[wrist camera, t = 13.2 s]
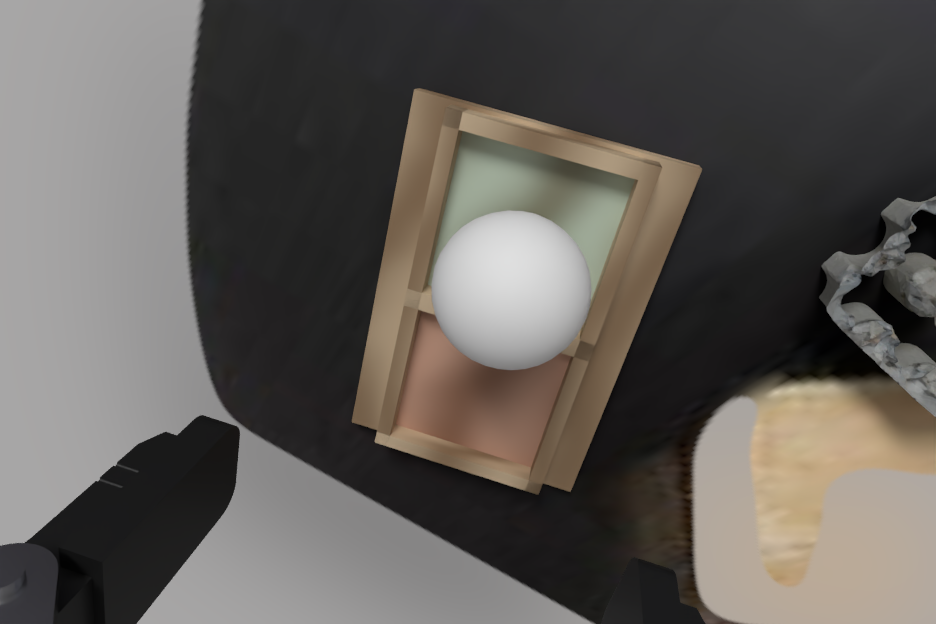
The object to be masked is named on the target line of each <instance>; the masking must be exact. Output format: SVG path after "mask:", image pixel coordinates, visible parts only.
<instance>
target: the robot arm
mask: <svg viewBox="0 0 936 624" xmlns="http://www.w3.org/2000/svg"><path fill="white" fill-rule="evenodd" d="M239 438H240V431H239V428H238V427H237V426H234V425H231V424H228V423H225V422H222V421H219V420H216V419H212V418H210V417H206V416H203V415H202V416H199V417H197V418H196V419H194V420H193V421H192V422H191V423H190V424H189V425H188V426H187V427H186V428H185V429H184V430H182V431H181V433H179V434H178V435H174V434H170V433H167V432H164V433H162V434H160V435H157V436H155V437H153V438H151V439H148V440H146V441H144V442H142V443H139V444H138V445H137V446H135V447H134V448H133V449H132V450H131V451H130V452H129V453H127V454H126V455H125V456H124V457H123V458H122V459H121V460H119V461H118V462H117V465H116V466H113V467H111V468H110V469H109V470H108V471H107V472H106V473H105V474H103V475H102V476H101V477H100V480H99V481H98V482H97V481H95V483H93V484H92V485H91V486H90V487H89V488H88V489H86V490H85V491H84V492H83V493H82V494H81V495H80V496H78V497H77V498H76V499H75V500H74V501H73V502H72V503H70V504H69V505H68V506H67V507H66V508H65V509H64V510H62V511H61V512H60V513H59V514H58V515H57V516H56V517H54V518H53V519H52V520H51V521H50V522H49V523H48V524H46V525H45V526H44V527H43V528H42V529H41V530H40V531H38V532H37V533H36V534H35V535H34V536H33V537H32V538H30V539H29V540H28V541H27V542H25V543H15V544H7V545H2V546H0V624H137V622H138V621H139V620H140V618H141V617H142V616H143V614H144V613H145V612H146V611H147V610H148V608H149V607H150V606H151V605H152V603H153V602H154V601H155V599H156V598H157V597H158V596H159V595H160V593H161V592H162V591H163V589H164V588H165V587H166V586H167V584H168V583H169V582H170V581H171V579H172V578H173V577H174V576H175V574H176V573H177V572H178V570H179V569H180V568H181V567H182V565H183V564H184V563H185V562H186V560H187V559H188V558H189V557H190V555H191V554H192V553H193V551H194V550H195V549H196V548H197V546H198V545H199V544H200V543H201V541H202V540H203V539H204V538H205V536H206V535H207V534H208V532H209V531H210V530H211V529H212V528H213V526H214V525H215V524H216V522H217V521H218V520H219V519H220V517H221V516H222V515H223V513H224V512H225V510H226V508H227V507H228V505H229V503H230V500H231V498H232V496H233V493H234V489H235V484H236V474H237V462H238V449H239ZM601 624H705V622H704V621H703V619H702V617H701V615H700V613H699V612H698V610H697V608H694V607H691V606H688V605H685V604H682V603H680V599H679V592H678V585H677V578H676V574H675V572H674V571H673V570H672V569H669V568H666V567H663V566H660V565H657V564H653V563H650V562H647V561H644V560H641V559H638V558H635V557H634V558H632V559H631V560H630V562H629V564H628V565H627V567H626V569H625V571H624V573H623V576H622V578H621V580H620V582H619V584H618V586H617V588H616V590H615V592H614V594H613V596H612V598H611V600H610V602H609V604H608V606H607V608H606V610H605V613H604V616H603V619H602V623H601Z"/></svg>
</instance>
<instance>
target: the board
mask: <svg viewBox="0 0 936 624" xmlns="http://www.w3.org/2000/svg"><path fill="white" fill-rule="evenodd" d="M701 171H702V169H701V167H700V166H699V165H695V164H692V163H688V162H685V161H681V160H677V159H674V158H670V157H667V156H663V155H659V154H656V153H652V152H648V151H645V150H641V149H638V148H634V147H630V146H627V145H623V144H620V143H616V142H612V141H609V140H605V139H602V138H598V137H594V136H591V135H587V134H583V133H580V132H576V131H573V130H569V129H565V128H562V127H558V126H555V125H551V124H547V123H544V122H540V121H537V120H533V119H529V118H526V117H522V116H518V115H515V114H511V113H508V112H504V111H500V110H497V109H493V108H490V107H486V106H482V105H479V104H475V103H472V102H468V101H464V100H461V99H457V98H453V97H450V96H446V95H443V94H439V93H435V92H432V91H428V90H425V89H421V88H418V89H415V90H414V94H413V99H412V104H411V110H410V115H409V120H408V126H407V131H406V136H405V141H404V147H403V152H402V157H401V163H400V168H399V173H398V179H397V184H396V189H395V195H394V200H393V205H392V211H391V216H390V221H389V227H388V232H387V237H386V242H385V248H384V253H383V258H382V264H381V269H380V274H379V280H378V285H377V290H376V296H375V301H374V306H373V312H372V317H371V322H370V328H369V333H368V338H367V343H366V349H365V354H364V359H363V365H362V370H361V375H360V381H359V386H358V391H357V397H356V402H355V407H354V413H353V418H352V422H353V423H356V424H359V425H363V426H366V427H369V428H372V429H375V430H377V434H376V439H375V443H378V444H381V445H384V446H387V447H391V448H394V449H397V450H400V451H403V452H406V453H409V454H412V455H415V456H419V457H422V458H425V459H428V460H431V461H434V462H437V463H440V464H443V465H447V466H450V467H453V468H456V469H459V470H462V471H465V472H468V473H471V474H475V475H478V476H481V477H484V478H487V479H490V480H493V481H496V482H500V483H503V484H506V485H509V486H512V487H515V488H518V489H521V490H524V491H528V492H531V493H534V494H537V495H538V494H539V492H540V489H541V487H542V484H543V483H544V484H547V485H550V486H553V487H556V488H560V489H563V490H566V491H569V492H571V489H572V487H573V485H574V482H575V480H576V477H577V475H578V472H579V470H580V467H581V465H582V463H583V460H584V458H585V455H586V453H587V450H588V448H589V445H590V443H591V440H592V438H593V436H594V433H595V431H596V428H597V426H598V423H599V421H600V418H601V416H602V414H603V411H604V409H605V406H606V404H607V401H608V399H609V396H610V394H611V392H612V389H613V387H614V384H615V382H616V379H617V377H618V374H619V372H620V369H621V367H622V365H623V362H624V360H625V357H626V355H627V352H628V350H629V347H630V345H631V343H632V340H633V338H634V335H635V333H636V330H637V328H638V325H639V323H640V321H641V318H642V316H643V313H644V311H645V308H646V306H647V303H648V301H649V299H650V296H651V294H652V291H653V289H654V286H655V284H656V281H657V279H658V276H659V274H660V272H661V269H662V267H663V264H664V262H665V259H666V257H667V254H668V252H669V250H670V247H671V245H672V242H673V240H674V237H675V235H676V232H677V230H678V228H679V225H680V223H681V220H682V218H683V215H684V213H685V210H686V208H687V205H688V203H689V201H690V198H691V196H692V193H693V191H694V188H695V186H696V183H697V181H698V179H699V176H700V174H701ZM507 210H511V211H525V212H530V213H534V214H537V215H540V216H542V217H544V218H546V219H548V220H551V221H552V222H554V223H555V224H556V225H558V226H559V227H561V228H562V229H563V230H564V231H565V232H566V233H567V234H568V235H569V236H570V237H571V238H572V239H573V240H574V241H575V242H576V243H577V245H578V247H579V248H580V250H581V252H582V253H583V255H584V257H585V260H586V262H587V265H588V268H589V271H590V279H591V289H592V292H591V303H590V308H589V311H588V314H587V318H586V320H585V322H584V324H583V326H582V328H581V329H580V331H579V333H578V335H577V337H576V338H575V339H574V340H573V341H572V342H571V344H570V345H569V346H568V347H567V348H566V349H565V350H563V351H562V352H561V353H559V354H558V355H557V356H555V357H554V358H553V359H551V360H549V361H547V362H545V363H543V364H541V365H539V366H535V367H531V368H528V369H520V370H503V369H496V368H492V367H488V366H484V365H482V364H480V363H478V362H475V361H473V360H471V359H470V358H468V357H467V356H465V355H464V354H462V353H461V352H460V351H459V350H458V349H457V348H456V347H455V346H453V345H452V344H451V343H450V341H449V340H448V338H447V337H446V336H445V334H444V333H443V331H442V329H441V327H440V325H439V323H438V321H437V318H436V315H435V312H434V308H433V303H432V287H431V286H432V278H433V272H434V267H435V264H436V262H437V260H438V257H439V255H440V253H441V251H442V250H443V248H444V247H445V245H446V244H447V243H448V241H449V240H450V238H451V237H452V236H453V235H454V234H455V233H456V232H457V231H458V230H459V229H460V228H461V227H463V226H464V225H466V224H468V223H469V222H471V221H472V220H474V219H476V218H479V217H481V216H484V215H487V214H490V213H494V212H501V211H507Z"/></svg>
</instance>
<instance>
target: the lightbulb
mask: <svg viewBox="0 0 936 624" xmlns="http://www.w3.org/2000/svg"><path fill="white" fill-rule="evenodd" d="M431 287H432V303H433V308H434V312H435V315H436V318H437V321H438V323H439V325H440V327H441V329H442V331H443V333H444V334H445V336H446V337H447V338H448V340H449V341H450V343H451V344H452V345H453V346H455V347H456V348H457V349H458V350H459V351H460V352H461V353H462V354H464V355H465V356H467V357H468V358H470V359H471V360H473V361H475V362H478V363H480V364H482V365H484V366H488V367H492V368H496V369H503V370H520V369H528V368H531V367H535V366H539V365H541V364H543V363H545V362H547V361H549V360H551V359H553V358H554V357H555V356H557V355H558V354H559V353H561V352H562V351H563V350H565V349H566V348H567V347H568V346H569V345H570V344H571V342H572V341H573V340H574V339H575V338H576V337H577V335H578V333H579V331H580V329H581V328H582V326H583V324H584V322H585V320H586V318H587V314H588V311H589V308H590V303H591V292H592V289H591V279H590V271H589V268H588V265H587V262H586V260H585V257H584V255H583V253H582V252H581V250H580V248H579V247H578V245H577V243H576V242H575V241H574V240H573V239H572V238H571V237H570V236H569V235H568V234H567V233H566V232H565V231H564V230H563V229H562V228H561V227H559V226H558V225H556V224H555V223H554V222H552V221H551V220H548V219H546V218H544V217H542V216H540V215H537V214H534V213H530V212H525V211H511V210H507V211H501V212H494V213H490V214H487V215H484V216H481V217H479V218H476V219H474V220H472V221H471V222H469V223H468V224H466V225H464V226H463V227H461V228H460V229H459V230H458V231H457V232H456V233H455V234H454V235H453V236H452V237H451V238H450V240H449V241H448V243H447V244H446V245H445V247H444V248H443V250H442V251H441V253H440V255H439V257H438V260H437V262H436V264H435V267H434V272H433V278H432V286H431Z"/></svg>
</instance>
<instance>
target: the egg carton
mask: <svg viewBox="0 0 936 624" xmlns="http://www.w3.org/2000/svg"><path fill="white" fill-rule="evenodd" d="M919 210H924V211H927V212H930V213H932V214H935V215H936V196H935V197H933V198H931V199H929V200H927V201H923V202H910V201H907V200H904V199H901V198H897V199H896V200H895V201H893V202H892V203H891V204H890V205H889V206H888V207H887V208H886V209H884V210H883V211H882V213H881V216H882V218H883V219H884V221H885V224H886V234H885V237H884V239H883V241H882V242H881V244H880V245H879V246H878V247H877V248H876V249H874V250H873V251H871V252H869V253H866V254H862V255H848V254H845V253H842V252H836V253H835V254H834V255H832V256H831V257H830V258H829V259H828V260H827V261H826V262H824V263H823V265H822V268H823V270H824V271H825V273H826V276H827V284H826V287H825V289H824V291H823V293H822V294H821V295H820V296H819V298H820V300H821V301H822V302H823V303H824V304H825V306H826V307H827V312H828V314H829V315H830V317H831V318H832V319H833V321H834V322H835V323H836V324H837V325H838V326H839V327H840V328H841V330H842V331H843V332H844V333H846V334H847V335H848V336H849V337H850V338H851V339H852V340H853V341H854V342H855V343H856V344H857V345H858V346H859V347H860V348H861V349H862V350H863V351H864V352H865V353H866V354H868V355H869V356H870V357H871V358H872V359H873V360H874V361H875V362H876V363H877V364H878V365H879V366H880V367H881V368H882V369H883V370H884V371H885V372H886V373H888V374H889V375H890V376H891V377H892V378H893V379H894V380H895V381H896V382H897V383H898V384H899V385H900V386H901V387H902V388H904V389H905V390H906V391H907V392H908V393H909V394H910V395H911V396H912V397H913V398H914V399H915V400H916V401H917V402H918V403H919V404H921V405H922V406H923V407H924V408H925V409H927V410H928V411H929V412H930V413H931V414H932V415H934V416H935V417H936V363H935V362H934V361H933V360H932V359H931V358H930V357H929V356H928V355H926V354H925V353H924V352H923V351H922V350H921V349H920V348H918V347H917V346H914V345H911V344H907V343H901V344H899V343H900V341H899V339H898V338H897V336H896V335H895V333H894V330H893V328H892V325H890V324H888V323H886V322H885V321H884V320H883V319H882V318H881V317H880V316H878V315H877V314H876V313H875V312H874V311H873V310H872V309H871V308H870V307H868V306H867V305H865V304H862V303H858V302H853V303H847V304H843V305H841V300H842V298H843V295H844V294H846V293H848V292H849V291H851V290H852V289H853V288H855V287H857V286H858V285H859V284H860V282H861V274H863V275H867V276H873V275H874V274H876V273H877V272H878V271H880V270H886V271H885V273H884V279H883V283H884V286H885V288H886V289H887V291H888V292H889V293H890V294H891V295H893V296H894V297H895V298H896V299H897V300H898V301H899V302H900V303H902V304H903V305H904V306H905V307H906V308H907V309H909V310H910V311H912V312H915V313H916V314H917V315H918V316H920V317H934V324H935V327H936V260H934V259H932V258H930V257H929V256H927V255H925V254H923V253H908V254H904V252H905V250H906V249H907V248H909V247H910V245H911V243H910V241H909V239H908V235H909V234H911V233H913V232H915V230H916V226H915V225H914V224H913V222H912V221H911V218H912V215H914V214H915V213H916V212H917V211H919Z"/></svg>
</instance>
